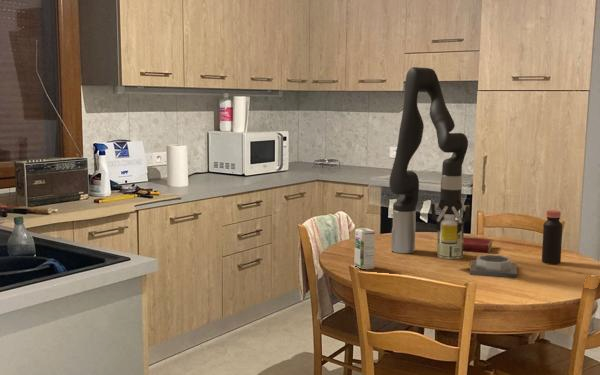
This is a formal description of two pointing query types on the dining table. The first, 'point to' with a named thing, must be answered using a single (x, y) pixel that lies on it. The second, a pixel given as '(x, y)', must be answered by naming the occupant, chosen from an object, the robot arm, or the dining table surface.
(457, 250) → the coffee can
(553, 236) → the vinegar
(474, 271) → the collar base
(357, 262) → the syrup box
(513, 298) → the dining table surface
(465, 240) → the hardcover book
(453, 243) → the pill bottle
